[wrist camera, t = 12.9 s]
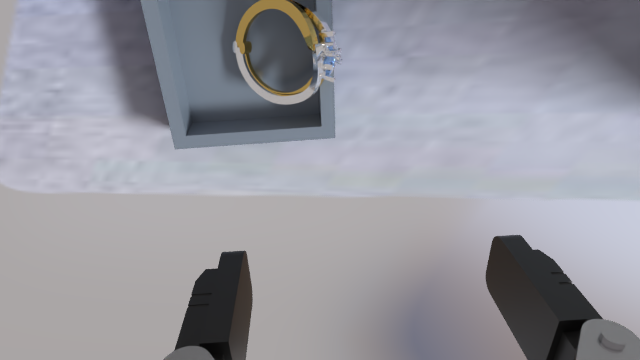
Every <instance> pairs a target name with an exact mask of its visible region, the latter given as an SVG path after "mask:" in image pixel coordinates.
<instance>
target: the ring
mask: <svg viewBox="0 0 640 360" xmlns="http://www.w3.org/2000/svg"><path fill="white" fill-rule="evenodd" d="M270 9H278V10H281V11H283V12H285V13H286V14H288V15H289V16H290V17H291V18H292V19H293V20H294V22H295V23H296V24H297V26H298V27H299V29H300V31H301V33H302V34H303V37H304V39H305V41H306V44H307V47H308V49H310V50H312V54H313V76H312V78H311V79H310V80H309V82H308V83H307V84H306V85H304V86H303V87H302V88H300V89H298V90H296V91H292V92H284V91H279V90H276V89H273V88H271V87H270V86H268V85H267V84H265V83H264V82H263V81H262V80H261V79H260V78H259V77H258V75H257V74H256V72H255V71H254V69H253V67H252V64H251V61H250V56H249V53H251V51H252V44H251V42H250V41H249V36H250V32H251V29H252V27H253V25H254V23H255V21H256V20H257V19H258V17H259V16H260V15H262V14H263V13H264V12H266V11H267V10H270ZM313 25H314V26H315V27H316V29H317V30H318V31H319V39H320V43H318V40H317V35H316V32H315V29H314V27H313ZM335 33H336V32H335V31H331V30H330V28H329V26H328V24H327V23H326V21H325V20H324V19H323V18H322V17H321V16H320V15H319V14H318V13H317V12H316V11H315V10H313V9H312V8H310V7H309V6H307V5H305V4H303V3H301V2H299V1H296V0H260V1H258V2H256V3H255V4H253V5H252V6H251V7H250V8H249V9H248V10H247V11H246V12H245V14H244V15H243V17H242V19H241V21H240V23H239V26H238V30H237V34H236V41H234V42H233V52H234V53H236V58H237V62H238V66H239V69H240V71H241V73H242V75H243V77H244V79H245V80H246V82H247V83H248V85H249V86H250V87H251V88H252V89H253V90H254V91H255V92H256V93H257V94H258V95H260V96H261V97H263V98H264V99H266V100H268V101H270V102H273V103H276V104H285V105H286V104H295V103H299V102H302V101H304V100H306V99H308V98H310V97H312V96H313V95H314V94H315V93H316V91H317V90H318V88H319V87H320V86H321V85H322V83H323V82H324V80H327V81H330V82H333V83H334V81H335V78H334V77H331V76H329V75H330V74H331V73H332V72H333V70H334V67H335V65H336V63H338V64H341V63H342V59H340V58H341V55H338V54H340V53H341V48H337V44H336V41H335V39H334V35H335Z"/></svg>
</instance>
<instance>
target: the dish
mask: <svg viewBox="0 0 640 360" xmlns="http://www.w3.org/2000/svg"><path fill="white" fill-rule="evenodd" d="M140 1H141V6H142V10H143V14H144V18H145V23H146V27H147V31H148V36H149V40H150V44H151V48H152V53H153V57H154V61H155V66H156V70H157V74H158V79H159V83H160V87H161V91H162V96H163V100H164V104H165V109H166V113H167V117H168V121H169V126H170V130H171V134H172V139H173V143H174V147H175V149H186V148H200V147H214V146H228V145H242V144H256V143H270V142H284V141H298V140H313V139H327V138H335V108H334V83H333V82H330V81H327V80H324V82H323V83H322V85H321V86H320V87H319V88H318V90H317V91H316V93H315V94H314V95H313V96H312V97H310V98H308V99H306V100H304V101H302V102H299V103H295V104H286V105H285V104H276V103H273V102H270V101H268V100H266V99H264V98H263V97H261V96H260V95H258V94H257V93H256V92H255V91H254V90H253V89H252V88H251V87H250V86H249V85H248V83H247V82H246V80H245V79H244V77H243V75H242V73H241V71H240V69H239V66H238V62H237V58H236V53H234V52H233V42H234V41H236V34H237V30H238V26H239V23H240V21H241V19H242V17H243V15H244V14H245V12H246V11H247V10H248V9H249V8H250V7H251V6H252V5H253V4H255V3H256V2H258V1H260V0H140ZM296 1H299V2H301V3H303V4H305V5H307V6H309V7H310V8H312V9H313V10H315V11H316V12H317V13H318V14H319V15H320V16H321V17H322V18H323V19H324V20H325V21H326V23H327V24H328V26H329V28H330V30H331V31H332V0H296ZM313 27H314V29H315V32H316V35H317V40H318V43H320V39H319V31H318V30H317V29H316V27H315V26H314V25H313ZM249 41H250V42H251V44H252V51H251V53H249V56H250V61H251V64H252V67H253V69H254V71H255V72H256V74H257V75H258V77H259V78H260V79H261V80H262V81H263V82H264V83H265V84H267V85H268V86H270V87H271V88H273V89H276V90H279V91H284V92H292V91H296V90H298V89H300V88H302V87H303V86H304V85H306V84H307V83H308V82H309V80H310V79H311V78H312V76H313V54H312V50H310V49H308V47H307V44H306V41H305V39H304V37H303V34H302V33H301V31H300V29H299V27H298V26H297V24H296V23H295V22H294V20H293V19H292V18H291V17H290V16H289V15H288V14H286V13H285V12H283V11H281V10H278V9H270V10H267V11H266V12H264V13H263V14H262V15H260V16H259V17H258V19H257V20H256V21H255V23H254V25H253V27H252V29H251V32H250V36H249ZM329 76H331V77H334V70H333V72H332V73H331V74H330V75H329Z"/></svg>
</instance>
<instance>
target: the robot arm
mask: <svg viewBox="0 0 640 360" xmlns="http://www.w3.org/2000/svg"><path fill="white" fill-rule="evenodd" d="M486 283H487V287H488V290H489V292H490V294H491V296H492V298H493V299H494V301H495V303H496V305H497V307H498V308H499V310H500V312H501V314H502V315H503V317H504V319H505V321H506V322H507V324H508V326H509V328H510V329H511V331H512V333H513V335H514V336H515V338H516V340H517V342H518V343H519V345H520V347H521V349H522V351H523V352H524V354H525V356H526V358H527V359H528V360H640V339H639V338H638V337H637V336H636V335H635V334H634V333H633V332H632V331H630V330H629V329H627V328H626V327H624V326H622V325H620V324H618V323H615V322H613V321H609V320H604V319H603V318H602V317H601V316H600V315H599V314H598V312H597V311H596V310H595V309H594V308H593V306H592V305H591V304H590V303H589V302H588V301H587V299H586V298H585V297H584V296H583V295H582V293H581V292H580V291H579V290H578V289H577V287H576V286H575V285H574V284H572V283H571V280H570V279H569V278H568V277H567V275H566V274H564V273H563V271H562V269H561V268H560V267H559V266H558V265H557V263H556V262H555V261H554V260H553V259H551V258H550V257H549V256H547V255H546V254H544V253H543V252H541V251H540V250H532V248H531V247H530V246H529V245H528V243H527V242H526V241H525V240H524V238H523V237H522V236H520V235H509V236H496V237H494V239H493V241H492V245H491V250H490V255H489V260H488V265H487V270H486ZM188 306H189V307H188V308H187V311H186V314H185V318H184V321H183V324H182V327H181V331H180V334H179V337H178V341H177V344H176V347H175V350H174V351H173V352H172V353H171V354H169V355H168V356H167V357H166V358H164V360H246V352H247V344H248V335H249V327H250V318H251V310H252V285H251V279H250V272H249V265H248V259H247V254H246V251H234V252H222V254H221V257H220V261H219V265H218V269H206V270H205V271H204V272H203V273H202V274H201V275H200V277H199V278H198V279H197V280H196V281H195V285H194V288H193V291H192V297H191V298H190V301H189V304H188Z"/></svg>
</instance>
